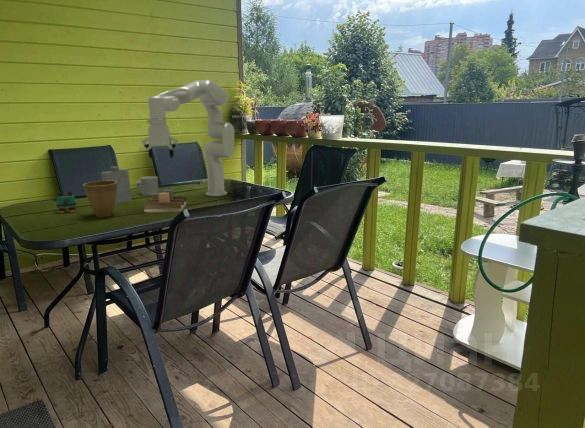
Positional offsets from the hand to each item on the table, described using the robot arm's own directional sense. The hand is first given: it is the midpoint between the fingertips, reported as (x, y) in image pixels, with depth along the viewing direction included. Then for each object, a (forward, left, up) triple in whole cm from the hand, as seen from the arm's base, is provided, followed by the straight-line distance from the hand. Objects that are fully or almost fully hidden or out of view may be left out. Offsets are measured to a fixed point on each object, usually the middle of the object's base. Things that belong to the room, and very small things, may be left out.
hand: (161, 157), depth 217 cm
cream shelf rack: (-4, 0, -27) cm, 27 cm away
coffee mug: (-45, -20, -27) cm, 56 cm away
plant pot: (+10, -27, -27) cm, 39 cm away
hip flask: (-20, -30, -27) cm, 45 cm away
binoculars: (-1, -49, -27) cm, 56 cm away
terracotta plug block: (0, 0, -25) cm, 25 cm away
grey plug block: (-8, 0, -25) cm, 26 cm away
